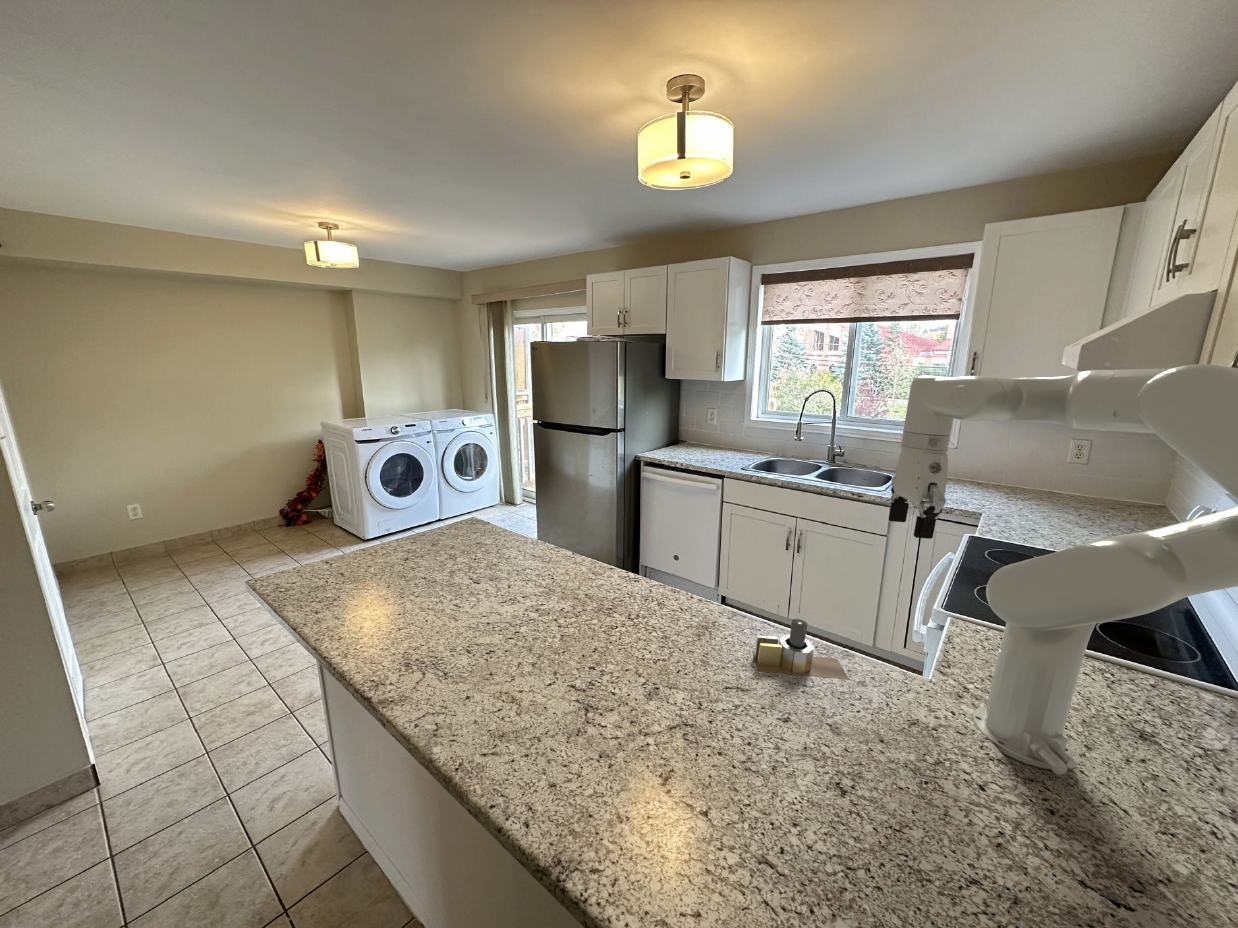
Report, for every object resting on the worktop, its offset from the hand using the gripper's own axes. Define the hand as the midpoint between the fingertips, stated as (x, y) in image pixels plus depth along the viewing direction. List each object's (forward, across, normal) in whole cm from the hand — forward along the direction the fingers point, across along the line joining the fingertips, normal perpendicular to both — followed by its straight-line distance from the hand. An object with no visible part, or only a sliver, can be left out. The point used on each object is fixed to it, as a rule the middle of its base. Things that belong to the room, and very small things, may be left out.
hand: (909, 529), depth 93 cm
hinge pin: (+28, -6, +20) cm, 35 cm away
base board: (+28, -6, +20) cm, 35 cm away
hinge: (+27, -6, +23) cm, 36 cm away
